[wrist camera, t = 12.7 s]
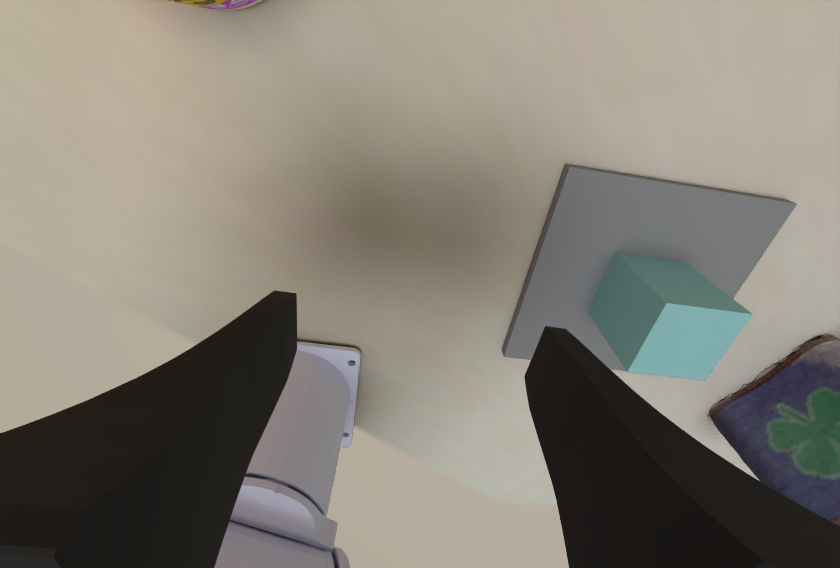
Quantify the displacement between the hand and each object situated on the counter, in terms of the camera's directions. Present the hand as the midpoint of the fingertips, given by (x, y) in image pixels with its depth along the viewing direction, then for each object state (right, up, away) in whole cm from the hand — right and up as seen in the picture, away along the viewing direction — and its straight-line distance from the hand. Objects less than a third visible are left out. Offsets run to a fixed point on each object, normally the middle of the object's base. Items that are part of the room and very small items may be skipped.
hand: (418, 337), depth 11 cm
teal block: (+12, +1, +11) cm, 16 cm away
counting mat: (+12, +2, +11) cm, 17 cm away
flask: (+24, -5, +16) cm, 29 cm away
